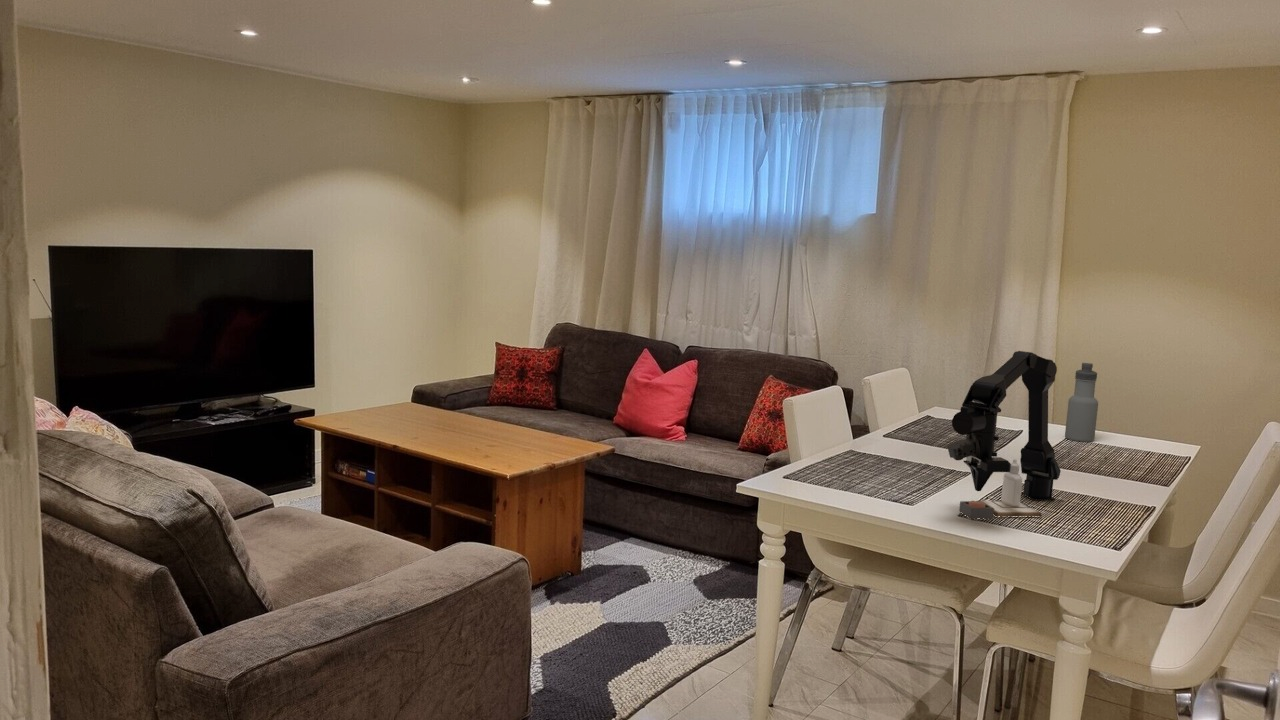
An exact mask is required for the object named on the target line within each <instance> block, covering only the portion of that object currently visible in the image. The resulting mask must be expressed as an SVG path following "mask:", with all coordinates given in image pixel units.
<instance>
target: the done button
mask: <svg viewBox="0 0 1280 720" xmlns="http://www.w3.org/2000/svg"><path fill="white" fill-rule="evenodd" d="M978 501H979V500H972V501H971V500H970V502H969V506H971V507H973V508H985V503H982V502H978Z"/></svg>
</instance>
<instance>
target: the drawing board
mask: <svg viewBox="0 0 1280 720" xmlns="http://www.w3.org/2000/svg"><path fill="white" fill-rule="evenodd" d="M981 501H982V502H984V503H986V504H988V505H989V506H991V507H993V508H994V513H993V514H994V515H995V516H1000V517H1002V516H1007V517H1008V516H1041V517H1042V512H1040V511H1038V510H1037V509H1034V508H1032V507H1031V506H1030V505H1027V504H1026V503H1024V502H1022V501H1020V506H1018V507H1012V506H1009V505H1006V504H1004V503H1003V502H1002V501H1001V500H981ZM995 516H994V517H995Z"/></svg>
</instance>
